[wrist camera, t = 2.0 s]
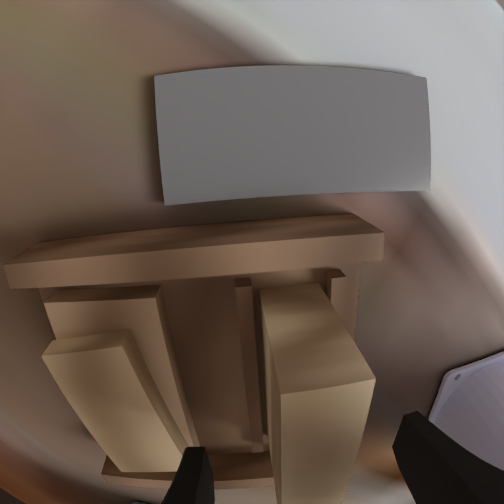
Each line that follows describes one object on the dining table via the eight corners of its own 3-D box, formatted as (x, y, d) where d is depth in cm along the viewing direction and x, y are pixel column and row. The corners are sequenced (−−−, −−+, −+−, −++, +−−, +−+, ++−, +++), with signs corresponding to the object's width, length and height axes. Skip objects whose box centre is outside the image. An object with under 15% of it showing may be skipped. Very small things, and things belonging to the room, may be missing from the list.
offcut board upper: (130, 329, 12) (122, 346, 11) (192, 452, 14) (191, 470, 13) (52, 340, 12) (41, 355, 11) (125, 455, 14) (121, 471, 13)
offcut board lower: (161, 284, 12) (155, 298, 11) (199, 445, 16) (198, 461, 15) (55, 290, 12) (43, 302, 11) (117, 442, 15) (113, 456, 14)
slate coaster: (419, 79, 11) (426, 77, 11) (423, 188, 13) (430, 191, 12) (157, 79, 11) (154, 76, 10) (167, 203, 12) (164, 205, 12)
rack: (353, 213, 13) (384, 232, 10) (333, 437, 18) (345, 473, 15) (38, 242, 13) (2, 265, 10) (116, 448, 17) (107, 482, 14)
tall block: (318, 282, 13) (376, 378, 7) (310, 429, 16) (335, 519, 10) (258, 288, 13) (280, 394, 7) (267, 435, 16) (281, 528, 10)
